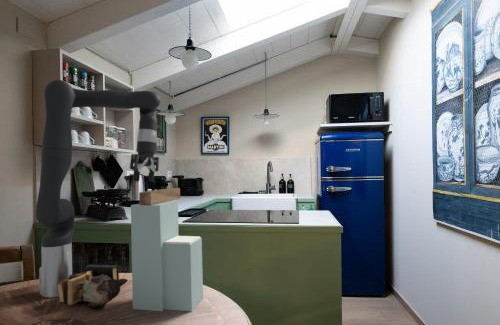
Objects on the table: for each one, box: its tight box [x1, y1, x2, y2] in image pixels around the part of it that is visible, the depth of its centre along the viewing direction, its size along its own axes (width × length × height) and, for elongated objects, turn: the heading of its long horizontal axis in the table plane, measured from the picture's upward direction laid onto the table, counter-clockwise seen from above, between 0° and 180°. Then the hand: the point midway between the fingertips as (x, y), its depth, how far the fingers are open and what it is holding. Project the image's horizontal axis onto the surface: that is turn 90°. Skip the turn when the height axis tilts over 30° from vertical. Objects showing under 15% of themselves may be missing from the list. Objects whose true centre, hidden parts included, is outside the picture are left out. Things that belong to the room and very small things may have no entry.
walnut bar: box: [138, 187, 181, 205], centre depth 106 cm, size 4×20×4 cm, turn 167°
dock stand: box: [130, 200, 204, 312], centre depth 100 cm, size 19×12×32 cm, turn 77°
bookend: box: [57, 264, 128, 308], centre depth 103 cm, size 15×11×25 cm
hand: (143, 181), depth 125 cm, fingers open, 8 cm apart
